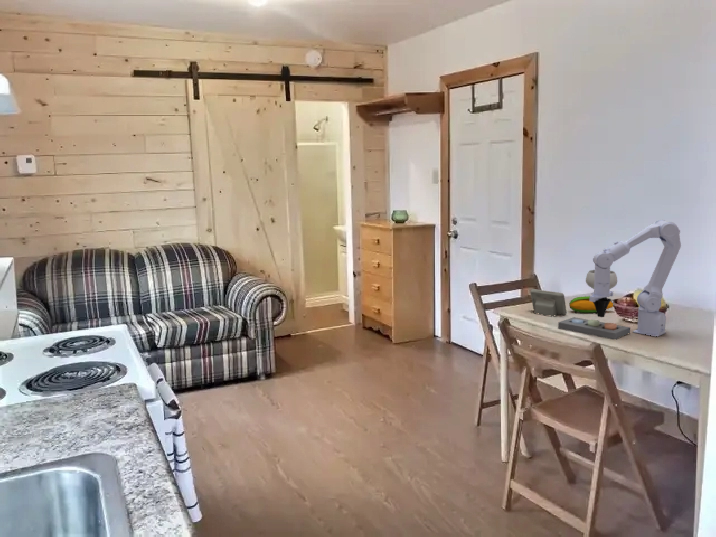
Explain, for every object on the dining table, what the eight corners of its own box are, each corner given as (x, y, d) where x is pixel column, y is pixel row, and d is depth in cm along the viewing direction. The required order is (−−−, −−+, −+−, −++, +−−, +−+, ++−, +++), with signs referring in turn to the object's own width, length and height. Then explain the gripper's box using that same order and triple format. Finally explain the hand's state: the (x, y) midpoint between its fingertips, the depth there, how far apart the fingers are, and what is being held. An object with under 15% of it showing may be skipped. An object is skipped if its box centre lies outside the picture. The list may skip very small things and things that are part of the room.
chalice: (613, 307, 287) (614, 275, 284) (581, 304, 294) (583, 272, 292) (618, 301, 299) (620, 270, 296) (588, 298, 306) (589, 268, 303)
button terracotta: (618, 330, 242) (618, 324, 242) (613, 332, 239) (613, 326, 239) (607, 328, 245) (608, 322, 245) (602, 330, 242) (602, 324, 242)
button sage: (601, 327, 247) (601, 321, 247) (595, 329, 244) (596, 323, 244) (591, 325, 250) (591, 319, 250) (585, 327, 248) (585, 321, 247)
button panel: (630, 333, 243) (630, 327, 242) (615, 339, 235) (615, 333, 234) (573, 322, 260) (574, 317, 260) (558, 328, 253) (558, 322, 252)
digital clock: (568, 315, 273) (569, 291, 272) (555, 318, 268) (556, 294, 267) (539, 309, 287) (540, 286, 285) (526, 312, 282) (526, 289, 280)
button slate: (585, 326, 253) (585, 320, 252) (579, 328, 250) (579, 322, 249) (575, 324, 256) (575, 318, 255) (569, 326, 253) (569, 320, 253)
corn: (567, 294, 281) (611, 293, 281) (566, 310, 283) (610, 309, 282) (572, 298, 274) (618, 297, 273) (571, 315, 276) (616, 314, 275)
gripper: (601, 279, 250) (600, 311, 252) (582, 284, 241) (581, 318, 243) (618, 281, 245) (617, 314, 247) (599, 286, 236) (598, 321, 238)
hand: (600, 316), depth 245 cm, fingers closed
